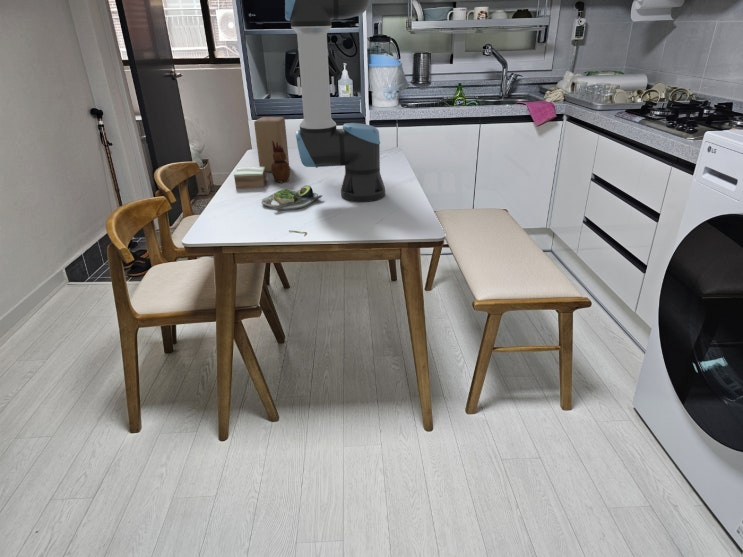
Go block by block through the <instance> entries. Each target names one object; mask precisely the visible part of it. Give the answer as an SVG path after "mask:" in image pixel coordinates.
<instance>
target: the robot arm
mask: <svg viewBox="0 0 743 557" xmlns="http://www.w3.org/2000/svg"><path fill="white" fill-rule="evenodd" d="M284 3H285V4H284V15H285V16H284V18H285V20H286V21H288V22H290V28H291V29H292V30H293V31H294V33H295V34H296V36H297V37H296V38H297V49H296V50H295V57H294V59H293V62H292V65H291V67H290V70H289V76H290V77H292V78H294V79H293V80H294V86H295V87H297V94H298V96H301V100H302V114H303V120H302V121H301V122H300V123H299V129H297V130H295V138H296V144H297V149H298V155H299V157H300V158H299V159H300V162H301V164H302V165H303V166H304V167H305V168H316V169H317V168H323V167H324V168H326V167H344V176H343V181H342V184H341V187H340V196H341V198H342V199H344V200H347V201H351V202H357V203H359V202H362V203H363V202H365V203H368V202H374V201H378V200H381V199H383V198H384V197H385V196H386V187H385V183H384V181H383V178H382V175H381V165H380V164H381V162H380V161H381V160H380V159H381V158H380V156H381V155H380V154H381V153H380V149H381V147H380V145H381V140H380V131H379V130H378V128H377V127H375V126H374V125H370V124H366V123H357V122H350V123H349V122H348V123H347V122H346V123H344V124H343V126H342V128H337V123H336V121H334V119H332V111H331V108H332V106H331V94H332V96H334V95H335V93H336V92H335V91H336V90H335V86H337V85H338V77H339V76H340V75H342V72H341V69H340V68H339V67H340V66H339V65H338V63H337V61H336V59H335V57H334V55H333V51H332V49H331V48H329V49H328V36H327V35H328V32H329V31H330V29H332V20H346V19H351V18H355V17H360V16H362V15H363V14H364V13H365V12H366V11H367V9H368V8H369V6H370V3H371V0H284ZM329 59H330V61H331V63H332V65H333V67H332V66H331V65H330V64H329ZM298 63H299V67H298V69H297V70H296V72H295V69H296V67H297V65H298ZM333 68H334V69H335V70H334V69H333ZM335 71H336V72H335ZM329 72H330V73H329ZM329 74H331V75H332V76H331V90H330V75H329ZM299 75H300V77H299ZM330 91H331V92H332V93H331V92H330Z"/></svg>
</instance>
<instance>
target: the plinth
mask: <svg viewBox="0 0 743 557" xmlns="http://www.w3.org/2000/svg"><path fill="white" fill-rule="evenodd" d="M233 177H234V184H235V189H251V188H252V189H253V188H256V189H257V188H265V186H266V182H267V172H266V170H265V167H260V166H249V167H248V166H247V167H245V166H244V167H238V168H237V169H236V170H235V173H234V174H233Z"/></svg>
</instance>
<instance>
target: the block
mask: <svg viewBox="0 0 743 557" xmlns="http://www.w3.org/2000/svg"><path fill="white" fill-rule="evenodd" d="M253 126H254V132H255V133H254V134H255V140H256V148H257V156H258V165H259V166H258V167H265V170H266V173H272V170H271V166H272V163H273V162H274V159H273V153H274V151H273V143H272V141H274V144H275V147H276V143H277V142H278V147H279V145H280V146H281V148H282V147H283V150H284V152H285V154H286V160H285V161H286V162H287V163H288V164H289V165H290V160H289V159H290V158H289V149H288V148H289V147H288V139H287V128H286V119H285V117H283V116H262V117H260V118H258V119H256V120H254V123H253Z"/></svg>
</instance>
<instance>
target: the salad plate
mask: <svg viewBox="0 0 743 557" xmlns="http://www.w3.org/2000/svg"><path fill="white" fill-rule="evenodd" d="M322 198H323V195H321V194H320V195H318V193H316V192H314V191H313V188H312V187H311V185H303V186H302V187H300V189H299V190H296V189H287V188H286V189H285V188H284V189H280V190H278V191H275V192H273V193H272V194H270V195H268V196H266V197H263V198H262V199H261V202H260V203H261V204H262V205H263V206H265V207H266V208H268V209H273V210H279V211H289V210H296V209H297V210H298V209H302V208H305V207H307V206H309V205H312V204H313V203H314V202H316V201H318V200H319V199H322ZM275 200H276V202H277V203H278V205H276V204H272V203H273V201H275Z"/></svg>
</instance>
